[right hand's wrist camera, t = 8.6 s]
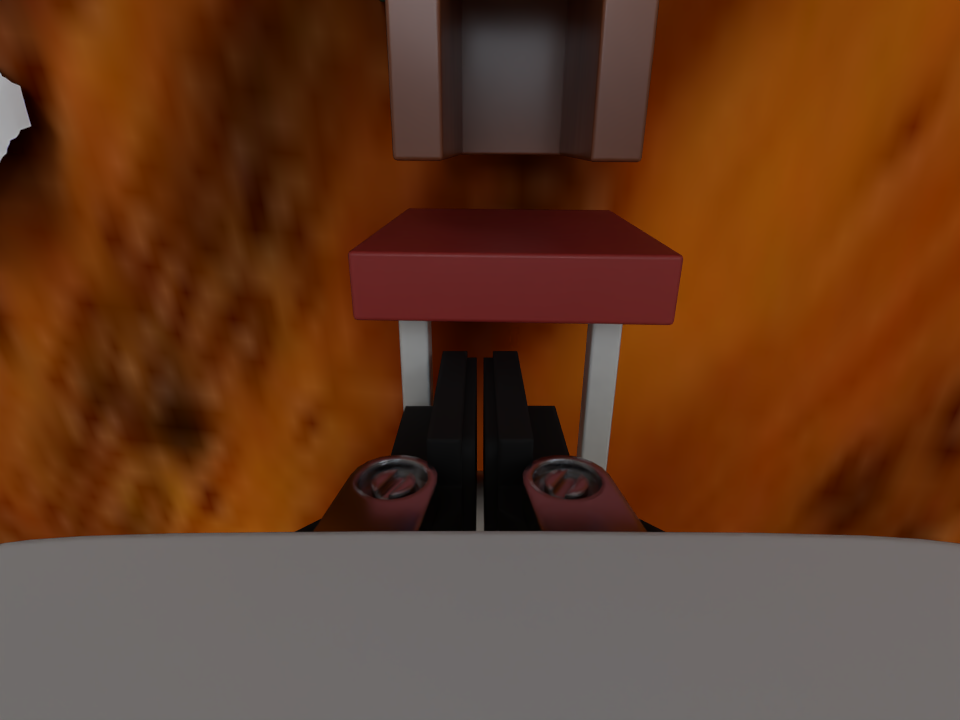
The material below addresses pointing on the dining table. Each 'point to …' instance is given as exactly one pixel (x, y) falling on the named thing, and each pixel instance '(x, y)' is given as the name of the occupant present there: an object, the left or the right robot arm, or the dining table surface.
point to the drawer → (513, 232)
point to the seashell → (11, 113)
